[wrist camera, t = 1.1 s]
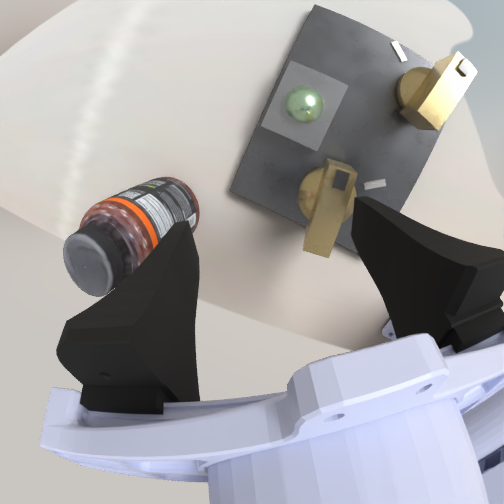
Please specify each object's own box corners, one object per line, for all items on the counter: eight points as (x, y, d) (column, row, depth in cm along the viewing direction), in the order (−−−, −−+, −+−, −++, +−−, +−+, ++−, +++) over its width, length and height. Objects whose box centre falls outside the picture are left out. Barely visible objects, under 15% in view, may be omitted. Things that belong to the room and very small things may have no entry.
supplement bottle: (158, 247, 26) (81, 316, 16) (133, 189, 24) (39, 235, 14) (213, 230, 24) (142, 305, 14) (186, 164, 22) (91, 200, 12)
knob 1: (341, 235, 21) (347, 266, 16) (290, 219, 21) (282, 246, 17) (364, 168, 18) (379, 181, 14) (309, 151, 19) (307, 158, 14)
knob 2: (424, 140, 16) (454, 146, 12) (381, 102, 16) (402, 95, 12) (457, 91, 14) (492, 85, 9) (417, 54, 14) (444, 35, 9)
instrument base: (455, 85, 15) (472, 81, 12) (368, 254, 22) (373, 272, 19) (315, 9, 15) (314, -7, 12) (233, 188, 22) (221, 197, 20)
